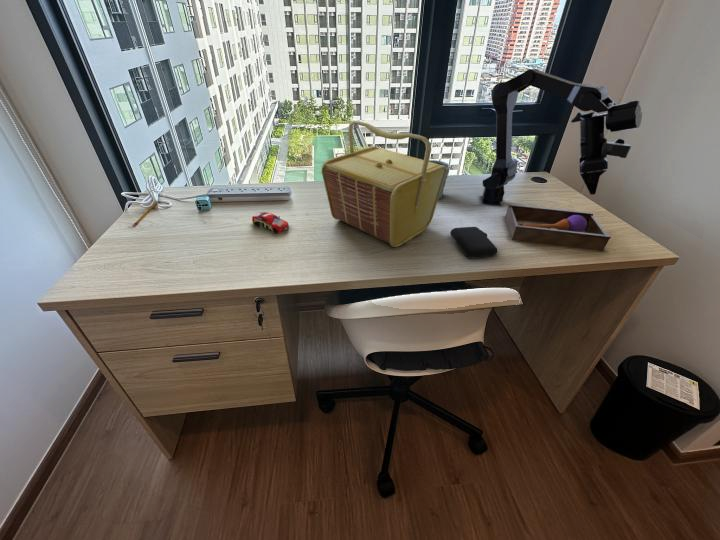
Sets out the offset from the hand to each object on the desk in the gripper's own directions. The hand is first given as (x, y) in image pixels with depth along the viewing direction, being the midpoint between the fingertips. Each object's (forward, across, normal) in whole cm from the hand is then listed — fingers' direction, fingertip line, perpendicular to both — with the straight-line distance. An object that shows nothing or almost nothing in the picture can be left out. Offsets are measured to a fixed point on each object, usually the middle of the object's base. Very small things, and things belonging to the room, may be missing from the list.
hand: (592, 190), depth 98 cm
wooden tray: (+11, -3, +11) cm, 16 cm away
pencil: (-24, -63, +125) cm, 142 cm away
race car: (-11, -47, +85) cm, 98 cm away
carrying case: (+7, -24, +30) cm, 39 cm away
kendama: (+11, -3, +11) cm, 16 cm away
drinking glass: (-5, +4, +51) cm, 51 cm away
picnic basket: (-3, -27, +57) cm, 64 cm away
